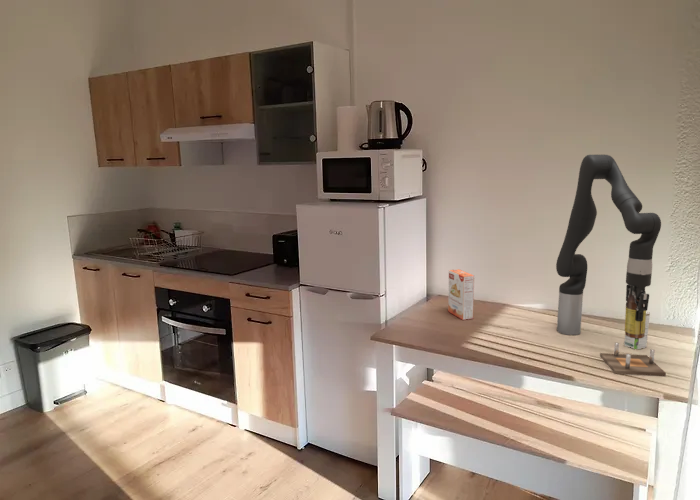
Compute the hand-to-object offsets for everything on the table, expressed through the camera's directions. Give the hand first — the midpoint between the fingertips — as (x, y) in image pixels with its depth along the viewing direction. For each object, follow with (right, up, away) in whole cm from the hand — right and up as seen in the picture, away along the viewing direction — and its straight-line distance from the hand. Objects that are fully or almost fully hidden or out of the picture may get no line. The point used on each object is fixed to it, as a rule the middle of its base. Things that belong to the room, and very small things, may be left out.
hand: (635, 317), depth 180 cm
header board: (0, -17, +3) cm, 18 cm away
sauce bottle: (0, -7, +1) cm, 7 cm away
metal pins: (+2, -16, +3) cm, 17 cm away
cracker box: (-47, -7, +63) cm, 79 cm away
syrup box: (+12, -14, +21) cm, 28 cm away
